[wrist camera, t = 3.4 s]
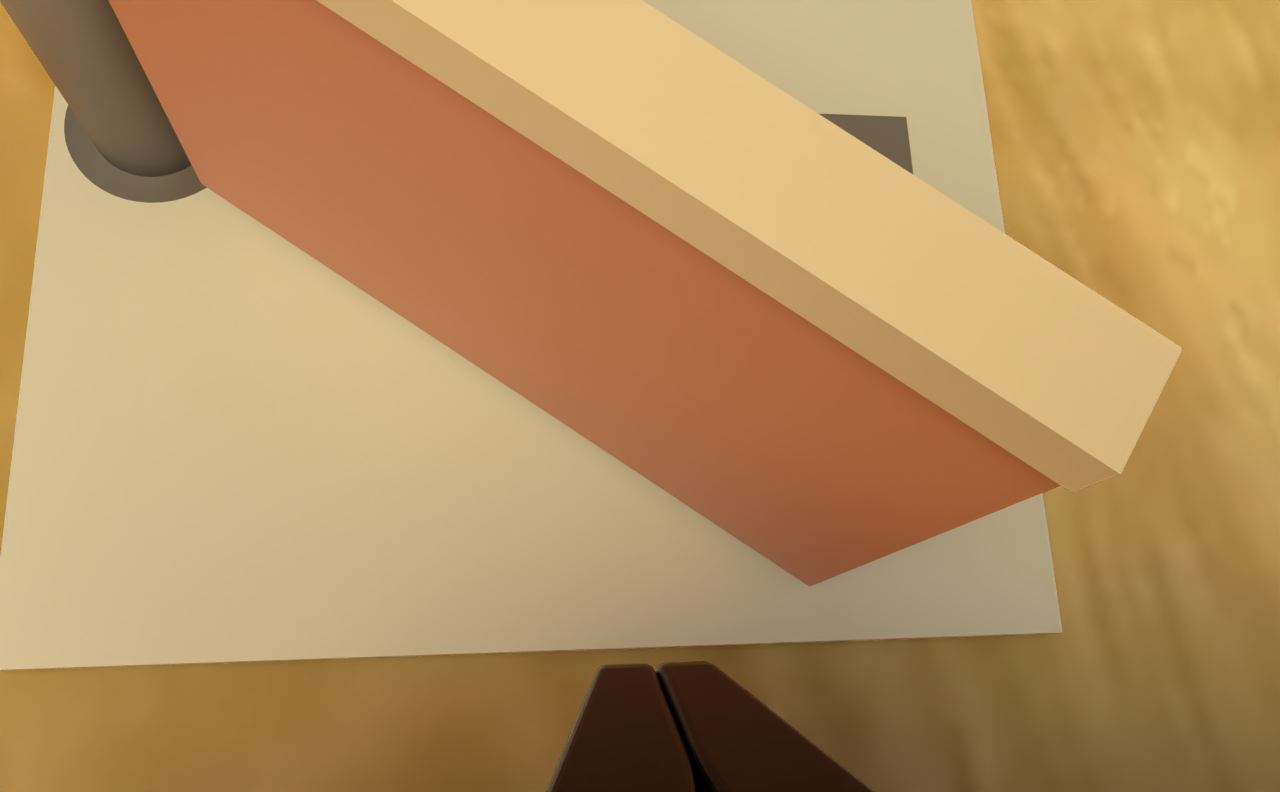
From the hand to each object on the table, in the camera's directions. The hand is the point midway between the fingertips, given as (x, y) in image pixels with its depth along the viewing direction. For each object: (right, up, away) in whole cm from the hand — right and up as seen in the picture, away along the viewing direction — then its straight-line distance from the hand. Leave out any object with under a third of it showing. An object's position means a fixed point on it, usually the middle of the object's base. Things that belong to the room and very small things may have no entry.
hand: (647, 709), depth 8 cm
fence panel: (-2, +3, +8) cm, 9 cm away
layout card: (-2, +6, +10) cm, 12 cm away
